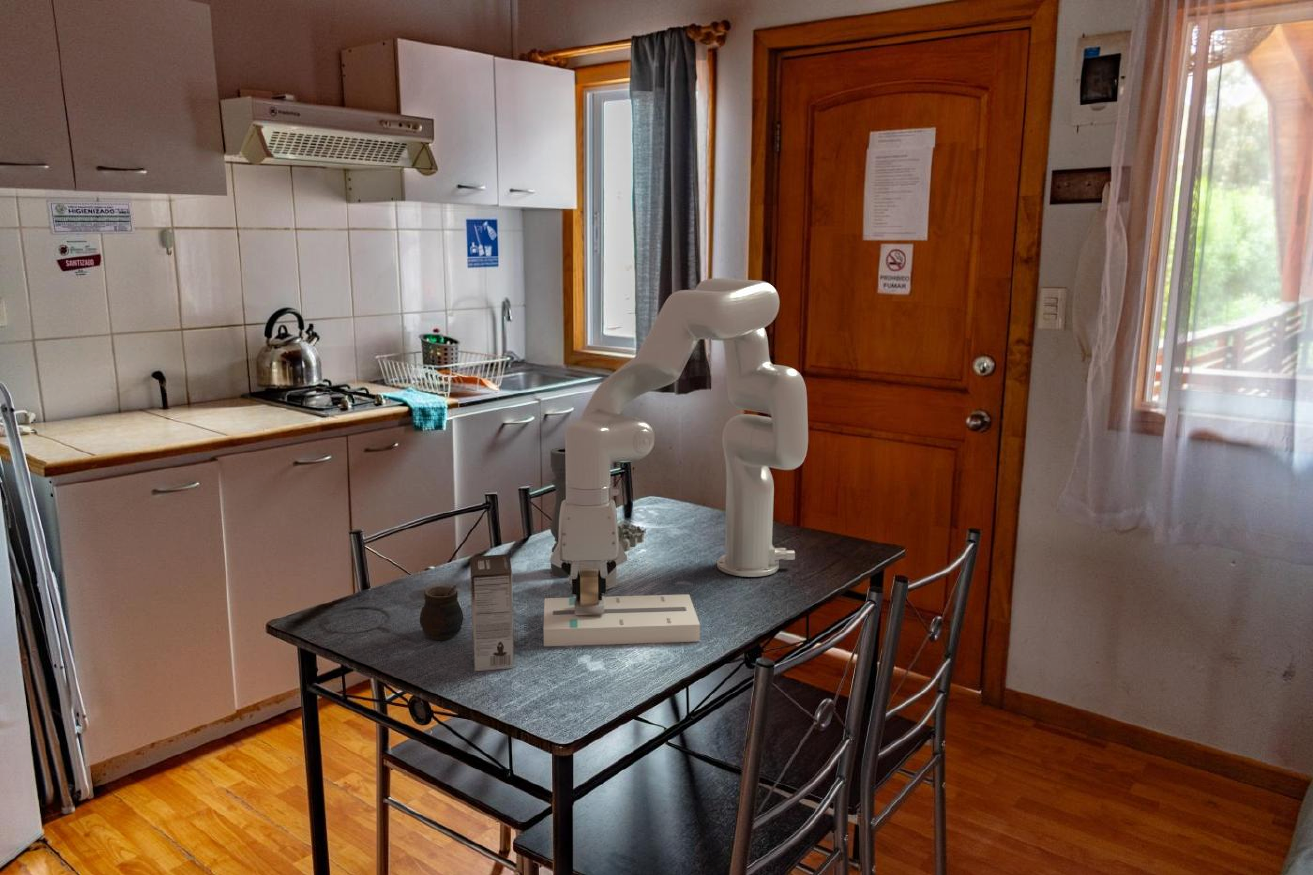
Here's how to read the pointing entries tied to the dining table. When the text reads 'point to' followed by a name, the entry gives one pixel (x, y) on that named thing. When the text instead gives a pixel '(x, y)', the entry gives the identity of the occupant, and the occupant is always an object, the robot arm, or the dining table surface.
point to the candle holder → (558, 499)
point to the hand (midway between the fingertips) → (588, 597)
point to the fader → (588, 594)
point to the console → (622, 621)
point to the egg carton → (630, 535)
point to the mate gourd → (441, 613)
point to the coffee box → (492, 612)
